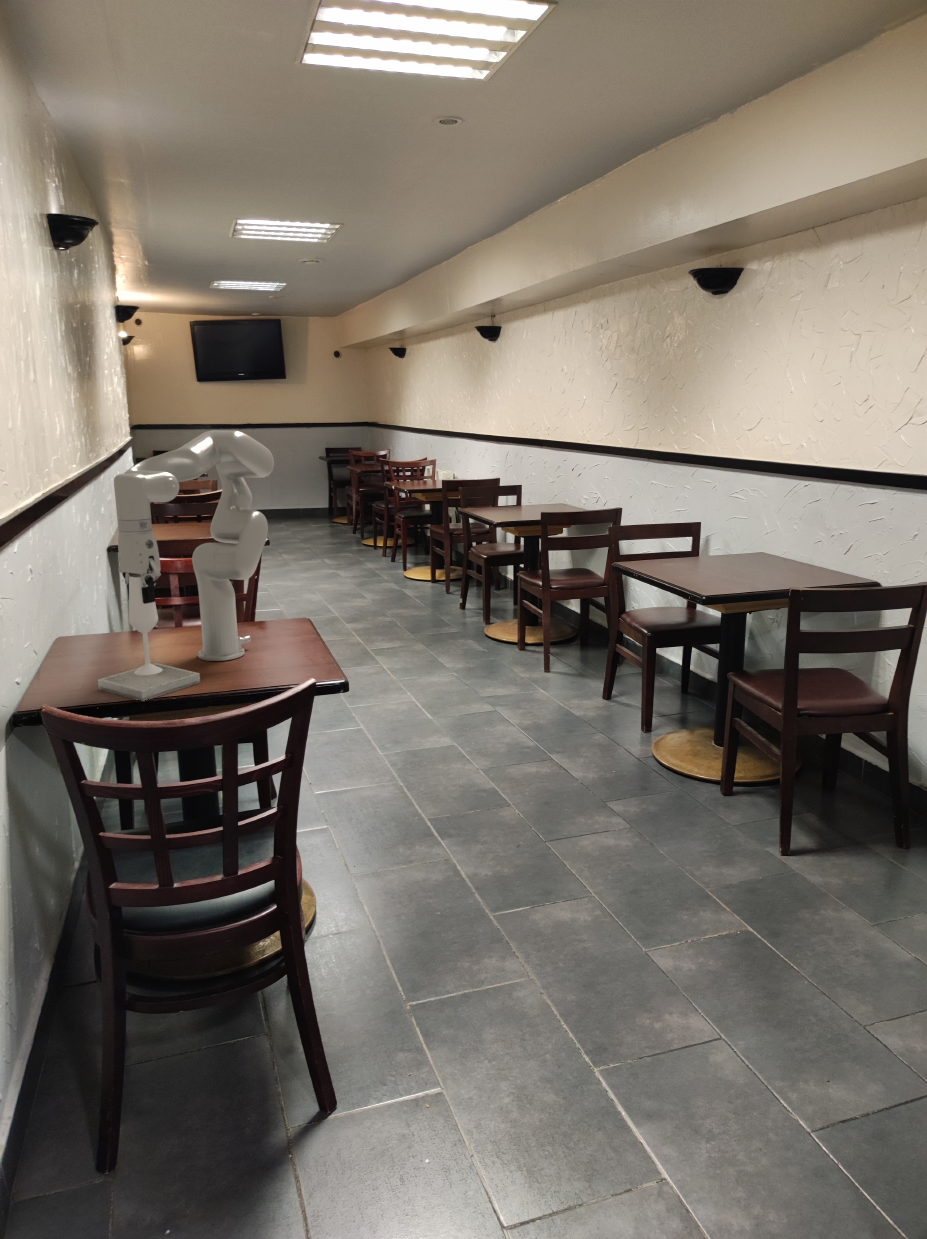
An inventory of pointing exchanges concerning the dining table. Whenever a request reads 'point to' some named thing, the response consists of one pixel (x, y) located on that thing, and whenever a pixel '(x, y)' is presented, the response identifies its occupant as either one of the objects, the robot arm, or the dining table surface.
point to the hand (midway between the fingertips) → (142, 600)
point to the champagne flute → (142, 620)
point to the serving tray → (149, 682)
